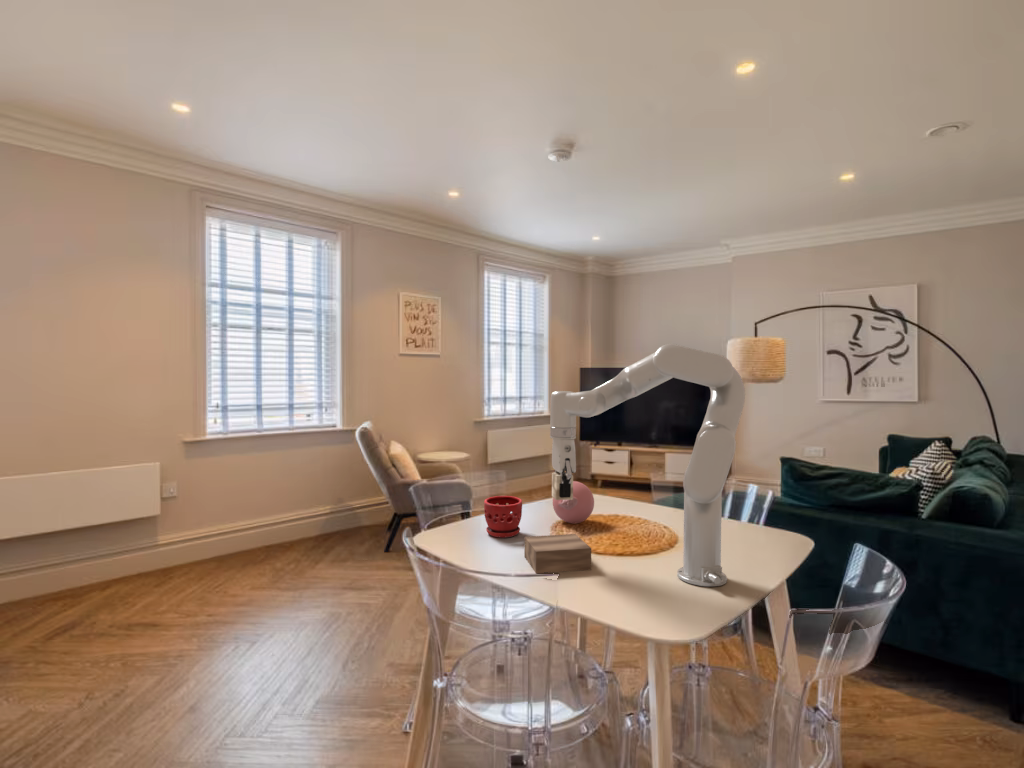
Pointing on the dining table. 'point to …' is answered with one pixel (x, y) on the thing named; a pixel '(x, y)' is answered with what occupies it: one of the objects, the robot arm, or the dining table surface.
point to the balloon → (575, 504)
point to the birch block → (556, 487)
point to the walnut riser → (557, 553)
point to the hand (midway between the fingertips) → (562, 494)
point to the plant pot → (503, 515)
